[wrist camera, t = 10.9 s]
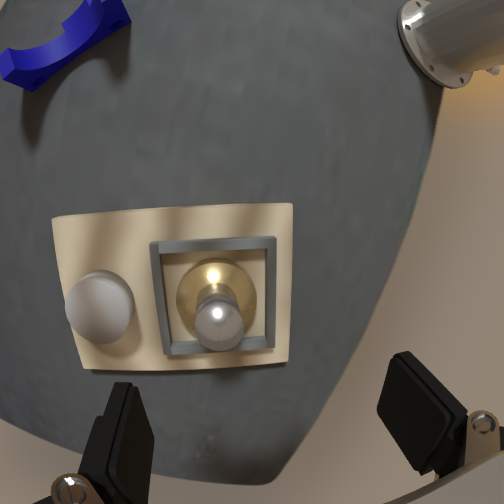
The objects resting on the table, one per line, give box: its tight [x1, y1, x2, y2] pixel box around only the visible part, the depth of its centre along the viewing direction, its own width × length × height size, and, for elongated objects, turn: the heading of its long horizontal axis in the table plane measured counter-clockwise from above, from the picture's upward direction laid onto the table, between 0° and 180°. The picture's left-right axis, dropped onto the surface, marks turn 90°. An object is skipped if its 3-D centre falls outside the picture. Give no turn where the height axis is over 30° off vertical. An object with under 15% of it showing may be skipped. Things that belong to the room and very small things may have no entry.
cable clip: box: [0, 0, 131, 92], centre depth 17 cm, size 12×4×6 cm, turn 120°
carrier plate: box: [52, 203, 293, 370], centre depth 26 cm, size 22×16×4 cm
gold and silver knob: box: [176, 258, 257, 351], centre depth 24 cm, size 7×7×6 cm
